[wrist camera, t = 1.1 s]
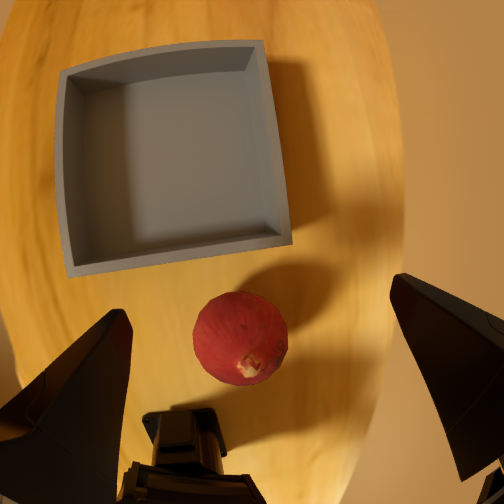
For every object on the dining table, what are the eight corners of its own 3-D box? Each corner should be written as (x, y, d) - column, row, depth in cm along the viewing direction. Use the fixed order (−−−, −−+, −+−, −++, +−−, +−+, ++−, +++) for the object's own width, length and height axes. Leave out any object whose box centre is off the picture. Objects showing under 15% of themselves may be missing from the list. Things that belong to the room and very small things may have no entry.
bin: (271, 238, 20) (292, 244, 16) (92, 265, 18) (67, 278, 14) (249, 70, 19) (262, 40, 14) (81, 95, 16) (60, 71, 12)
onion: (282, 293, 21) (328, 334, 13) (255, 360, 21) (284, 423, 14) (207, 269, 20) (215, 302, 12) (183, 340, 20) (180, 405, 12)
